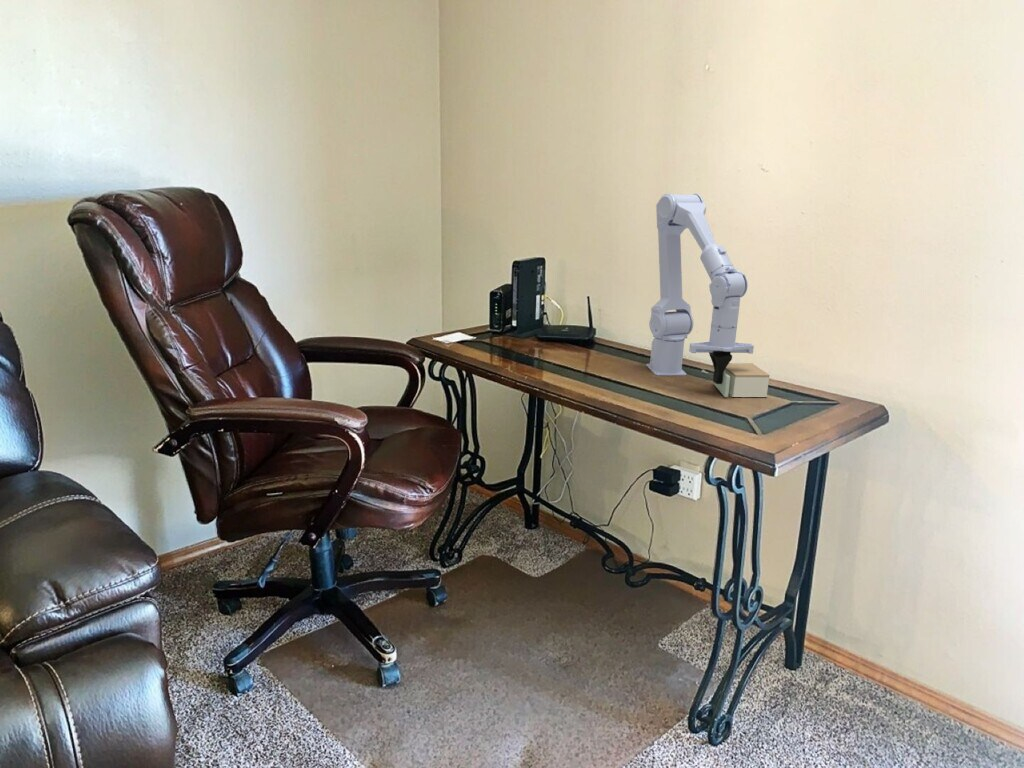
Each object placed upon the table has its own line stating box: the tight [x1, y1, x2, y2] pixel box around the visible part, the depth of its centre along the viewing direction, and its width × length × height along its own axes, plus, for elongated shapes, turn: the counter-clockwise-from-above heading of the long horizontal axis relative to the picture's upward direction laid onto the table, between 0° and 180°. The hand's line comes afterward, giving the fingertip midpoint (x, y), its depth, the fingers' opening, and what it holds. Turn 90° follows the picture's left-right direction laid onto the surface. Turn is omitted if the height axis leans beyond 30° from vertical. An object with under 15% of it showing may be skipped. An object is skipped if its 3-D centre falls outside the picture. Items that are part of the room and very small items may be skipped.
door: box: [713, 371, 730, 398], centre depth 185 cm, size 11×1×5 cm, turn 0°
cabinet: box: [724, 362, 771, 397], centre depth 185 cm, size 10×8×6 cm
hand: (717, 382), depth 183 cm, fingers closed
